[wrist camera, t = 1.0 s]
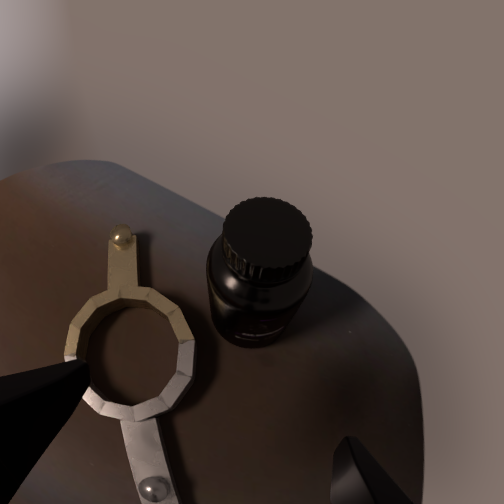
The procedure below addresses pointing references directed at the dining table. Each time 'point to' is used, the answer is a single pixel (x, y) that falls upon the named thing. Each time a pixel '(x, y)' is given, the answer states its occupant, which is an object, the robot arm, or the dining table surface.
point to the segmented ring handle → (149, 429)
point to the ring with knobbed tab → (122, 295)
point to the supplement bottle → (259, 271)
